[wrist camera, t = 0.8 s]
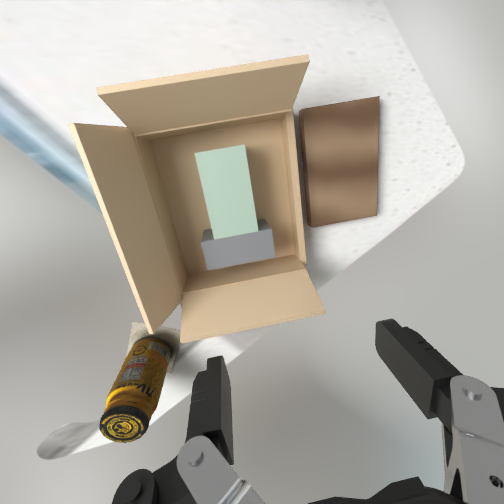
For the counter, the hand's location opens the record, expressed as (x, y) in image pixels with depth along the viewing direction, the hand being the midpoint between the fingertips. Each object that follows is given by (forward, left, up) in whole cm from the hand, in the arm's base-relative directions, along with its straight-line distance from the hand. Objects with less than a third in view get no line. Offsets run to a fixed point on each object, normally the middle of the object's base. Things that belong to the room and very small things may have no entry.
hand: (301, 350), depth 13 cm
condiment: (+16, -18, -23) cm, 33 cm away
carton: (-4, -2, -23) cm, 23 cm away
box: (-4, -2, -22) cm, 22 cm away
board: (-6, +12, -23) cm, 27 cm away
